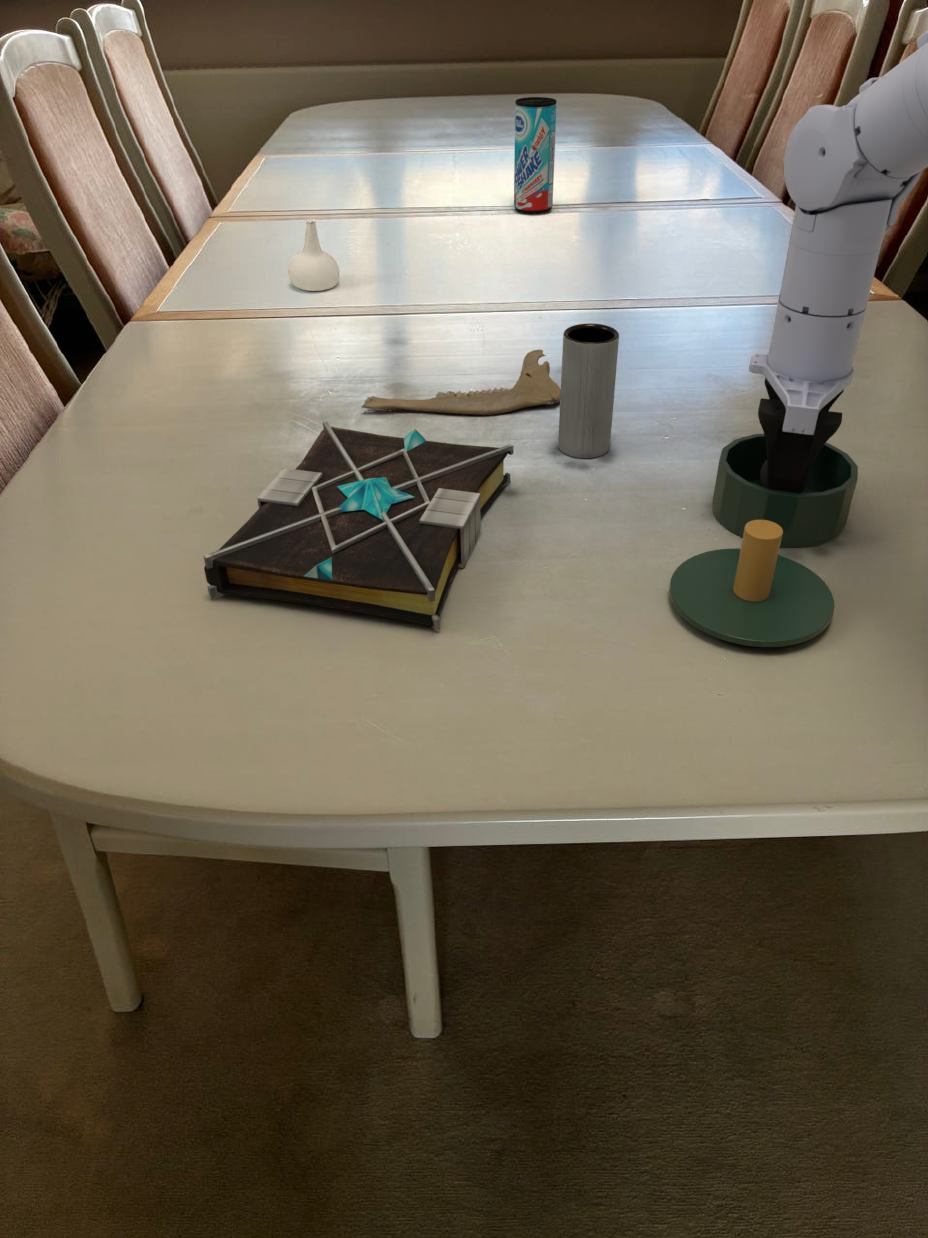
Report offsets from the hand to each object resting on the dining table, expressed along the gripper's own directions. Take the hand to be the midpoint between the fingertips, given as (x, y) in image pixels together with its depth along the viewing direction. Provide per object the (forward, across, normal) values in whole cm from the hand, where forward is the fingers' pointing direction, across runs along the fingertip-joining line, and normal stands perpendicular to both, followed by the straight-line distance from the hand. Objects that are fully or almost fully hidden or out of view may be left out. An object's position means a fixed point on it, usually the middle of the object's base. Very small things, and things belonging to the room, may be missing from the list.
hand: (784, 479), depth 73 cm
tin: (+3, 0, 0) cm, 3 cm away
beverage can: (+3, -80, -42) cm, 91 cm away
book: (+3, +12, -29) cm, 32 cm away
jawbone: (+3, -14, -31) cm, 34 cm away
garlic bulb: (+3, -40, -59) cm, 71 cm away
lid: (+2, +13, -1) cm, 13 cm away
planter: (+3, -6, -17) cm, 18 cm away
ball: (0, 0, 0) cm, 0 cm away
